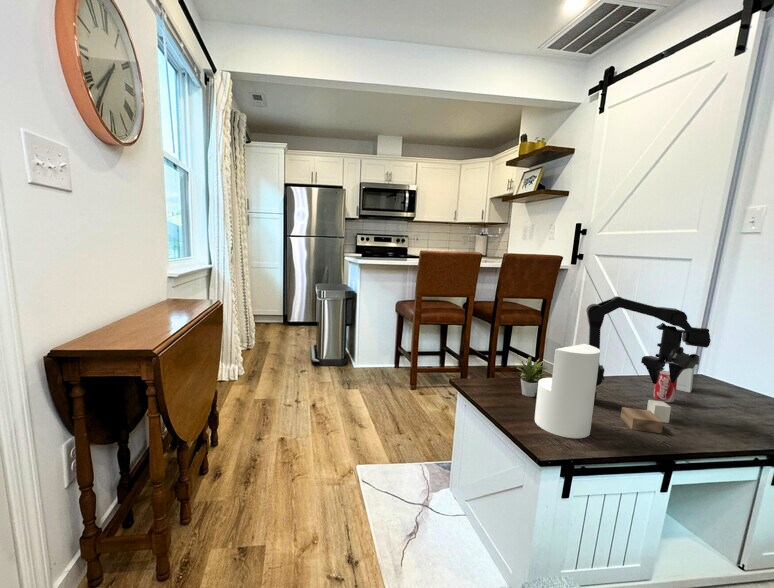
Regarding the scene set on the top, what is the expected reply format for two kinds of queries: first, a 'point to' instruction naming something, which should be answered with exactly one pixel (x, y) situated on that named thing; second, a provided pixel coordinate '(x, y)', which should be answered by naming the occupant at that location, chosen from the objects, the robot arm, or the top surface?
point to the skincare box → (685, 380)
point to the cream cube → (659, 410)
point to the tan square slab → (641, 420)
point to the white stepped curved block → (569, 392)
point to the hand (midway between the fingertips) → (663, 383)
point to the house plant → (531, 377)
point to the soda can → (665, 388)
